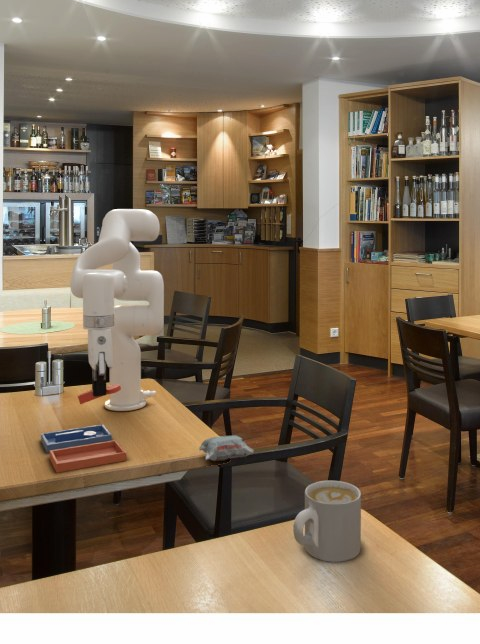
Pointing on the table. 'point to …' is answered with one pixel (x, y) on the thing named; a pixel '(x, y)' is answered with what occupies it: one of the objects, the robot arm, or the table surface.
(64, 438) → the blue spoon
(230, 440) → the packaged food
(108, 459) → the red tray
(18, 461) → the table surface
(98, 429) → the blue tray
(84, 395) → the red spoon
